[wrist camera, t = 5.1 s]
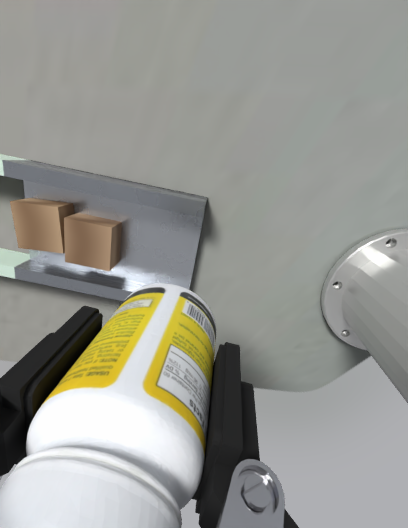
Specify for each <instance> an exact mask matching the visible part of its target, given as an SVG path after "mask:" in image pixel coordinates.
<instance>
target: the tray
mask: <svg viewBox="0 0 408 528" xmlns="http://www.w3.org/2000/svg"><path fill="white" fill-rule="evenodd" d="M2 160H27V159H22V158H17V157H12V156H7V155H3V154H0V175H1V176H4V171H3V162H2ZM28 260H30V255H29V254H26V253H21V252H16V251H11V250H7V249H2V248H0V276H5V277H9V278H14V279H15V271H14V267H15V266H17V265H19V264H21V263H23V262H25V261H28Z"/></svg>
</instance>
